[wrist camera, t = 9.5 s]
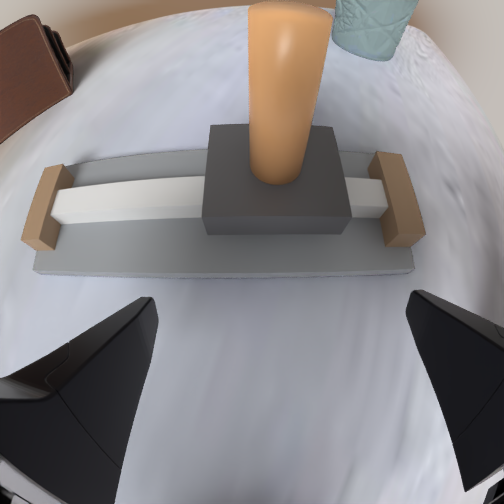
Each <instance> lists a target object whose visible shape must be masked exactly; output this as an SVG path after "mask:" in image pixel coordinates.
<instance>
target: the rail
mask: <svg viewBox="0 0 504 504" xmlns="http://www.w3.org/2000/svg"><path fill="white" fill-rule="evenodd" d="M207 152H208V149H202V150H186V151H173V152H161V153H151V154H142V155H133V156H125V157H118V158H111V159H104V160H98V161H92V162H86V163H80V164H75V165H70V166H64V165H63V164H60V165H55V166H51V167H47V168H45V169H44V171H43V174H42V176H41V179H40V181H39V184H38V187H37V189H36V192H35V195H34V198H33V201H32V204H31V207H30V210H29V213H28V216H27V220H26V223H25V226H24V230H23V234H22V237H21V241H23V242H24V243H26V244H27V245H29V246H30V247H32V248H33V249H35V250H37V252H36V256H35V261H34V266H33V271H35V272H37V273H39V274H44V275H68V276H97V277H139V278H287V277H331V276H362V275H387V274H408V273H409V272H411V271H412V270H414V269H415V267H414V261H413V256H412V251H411V246H412V245H414V244H415V243H416V242H417V241H418V240H420V239H421V238H422V237H423V236H424V235H426V233H425V229H424V225H423V221H422V217H421V213H420V210H419V206H418V203H417V199H416V196H415V193H414V189H413V186H412V183H411V180H410V177H409V174H408V171H407V168H406V166H405V163H404V160H403V157H402V155H401V154H394V153H387V152H379V151H376V153H375V154H368V153H358V152H347V151H339V155H340V159H341V164H342V168H343V172H344V177H345V182H346V186H347V191H348V196H349V201H350V207H351V212H352V218H351V220H350V222H349V223H348V225H347V226H346V228H345V229H344V231H343V232H342V234H341V235H337V234H279V235H207V232H206V229H205V226H204V223H203V220H202V204H203V193H204V182H205V171H206V162H207Z"/></svg>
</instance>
